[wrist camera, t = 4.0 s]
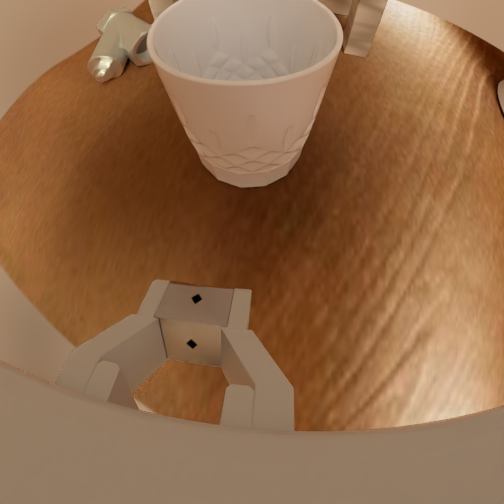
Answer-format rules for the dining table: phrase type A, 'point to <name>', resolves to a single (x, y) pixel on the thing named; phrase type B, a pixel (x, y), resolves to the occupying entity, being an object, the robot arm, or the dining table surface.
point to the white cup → (246, 79)
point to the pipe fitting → (119, 44)
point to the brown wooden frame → (345, 3)
